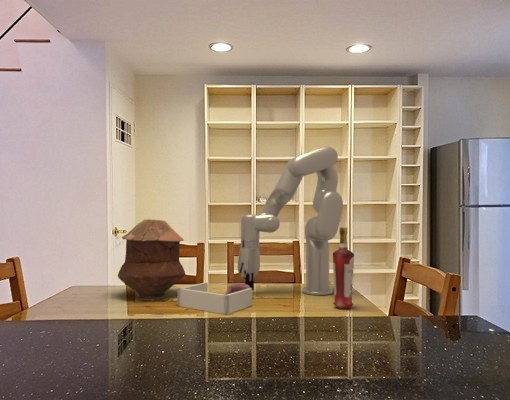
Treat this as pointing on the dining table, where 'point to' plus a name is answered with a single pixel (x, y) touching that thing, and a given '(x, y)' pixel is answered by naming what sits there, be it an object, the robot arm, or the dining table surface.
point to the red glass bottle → (343, 273)
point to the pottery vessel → (151, 258)
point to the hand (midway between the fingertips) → (249, 290)
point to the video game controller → (236, 288)
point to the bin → (213, 299)
